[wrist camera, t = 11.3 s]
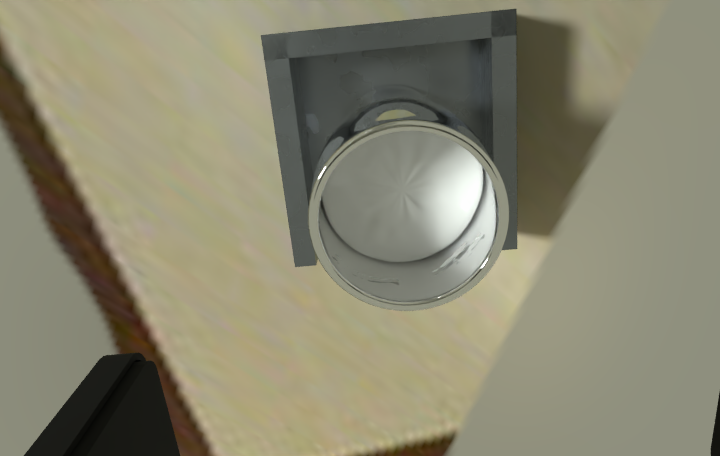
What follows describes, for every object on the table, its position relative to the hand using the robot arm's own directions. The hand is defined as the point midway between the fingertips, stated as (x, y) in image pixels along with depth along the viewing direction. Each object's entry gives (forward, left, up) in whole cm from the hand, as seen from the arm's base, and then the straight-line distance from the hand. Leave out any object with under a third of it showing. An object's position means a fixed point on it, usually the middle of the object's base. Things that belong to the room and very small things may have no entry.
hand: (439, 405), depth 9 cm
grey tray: (0, 0, -25) cm, 25 cm away
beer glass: (0, 0, -25) cm, 25 cm away
